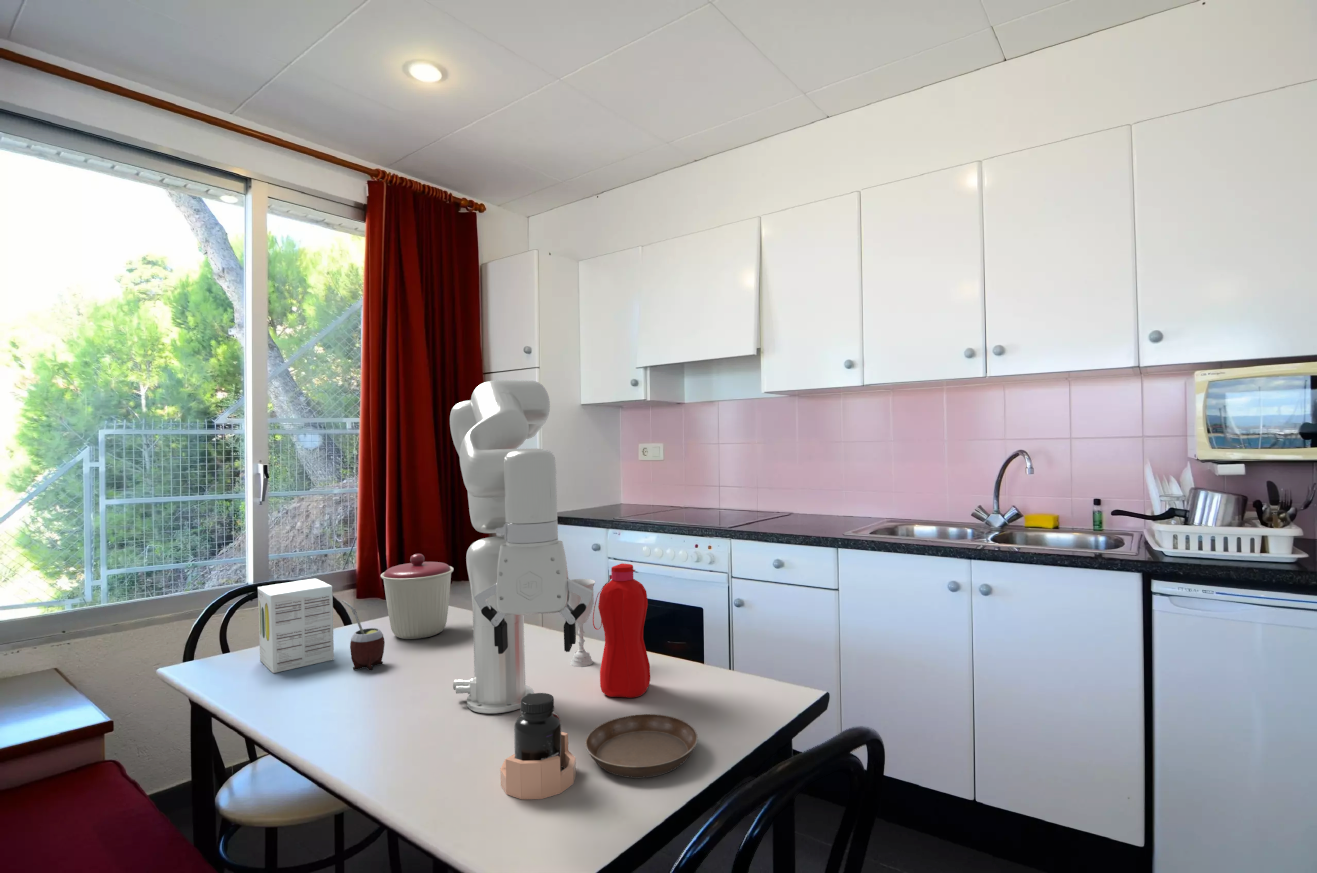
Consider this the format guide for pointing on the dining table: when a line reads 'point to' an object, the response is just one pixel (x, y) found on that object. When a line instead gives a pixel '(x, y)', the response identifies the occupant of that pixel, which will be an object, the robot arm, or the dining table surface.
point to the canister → (417, 597)
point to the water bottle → (623, 635)
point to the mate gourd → (366, 646)
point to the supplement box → (295, 624)
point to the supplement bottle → (537, 729)
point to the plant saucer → (641, 745)
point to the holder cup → (539, 775)
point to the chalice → (581, 623)
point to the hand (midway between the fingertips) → (535, 650)
